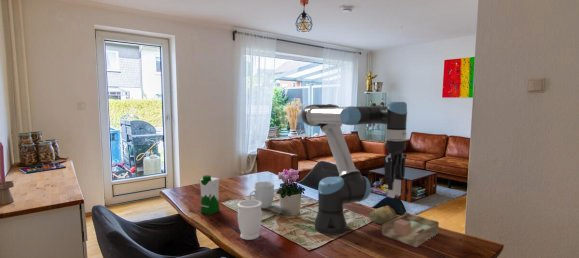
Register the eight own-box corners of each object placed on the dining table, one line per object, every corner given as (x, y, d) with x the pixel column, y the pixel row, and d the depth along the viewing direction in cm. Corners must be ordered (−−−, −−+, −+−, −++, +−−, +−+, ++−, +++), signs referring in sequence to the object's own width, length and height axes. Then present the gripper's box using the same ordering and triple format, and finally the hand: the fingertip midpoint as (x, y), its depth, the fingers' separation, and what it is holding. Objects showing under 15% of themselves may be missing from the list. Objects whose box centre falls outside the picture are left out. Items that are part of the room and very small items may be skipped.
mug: (253, 212, 164) (253, 188, 163) (245, 206, 173) (244, 183, 172) (277, 207, 172) (277, 184, 170) (268, 202, 181) (268, 180, 180)
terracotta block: (393, 232, 133) (394, 221, 133) (399, 229, 136) (400, 218, 136) (404, 236, 129) (404, 225, 129) (410, 233, 133) (410, 222, 132)
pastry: (404, 224, 149) (404, 208, 149) (386, 229, 143) (386, 212, 142) (382, 214, 161) (382, 199, 161) (364, 219, 155) (364, 203, 154)
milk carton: (198, 213, 163) (197, 176, 161) (209, 207, 171) (208, 172, 169) (211, 215, 159) (210, 178, 157) (222, 210, 167) (221, 174, 166)
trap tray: (381, 234, 137) (382, 222, 137) (405, 222, 150) (405, 212, 150) (416, 247, 125) (416, 234, 125) (438, 233, 138) (438, 221, 137)
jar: (239, 242, 129) (238, 208, 128) (236, 232, 139) (236, 200, 138) (264, 239, 132) (263, 205, 131) (259, 229, 142) (259, 198, 141)
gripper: (393, 142, 116) (391, 202, 118) (415, 139, 127) (412, 194, 129) (376, 140, 122) (374, 198, 124) (398, 137, 132) (396, 190, 135)
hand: (394, 195), depth 126 cm, fingers open, 4 cm apart
